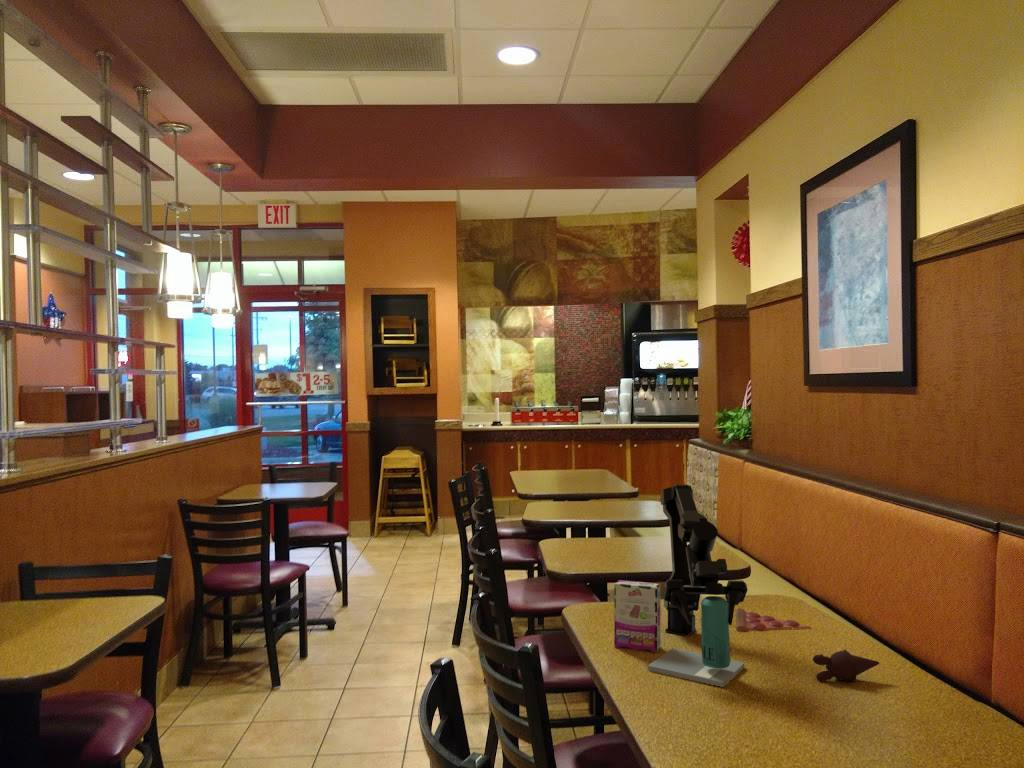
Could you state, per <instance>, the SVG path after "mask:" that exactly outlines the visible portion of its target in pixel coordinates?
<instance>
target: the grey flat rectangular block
mask: <svg viewBox="0 0 1024 768" xmlns="http://www.w3.org/2000/svg"><path fill="white" fill-rule="evenodd" d="M730 660H731V659H730ZM743 668H744V669H745V662H742V661H737V660H731V661H730V665H729V666H728V667H726V668H710V667H707V666H705V665H704V664H703V661H702V653H699V652H694V651H688V650H684V649H681V648H675V647H674V648H671V649H669V650H668V651H667V652H665V653H663V654H662V655H661V656H660V657H657V659H655V660H653V661H652V662H650V664H648V665H647V671H648V672H653V673H656V674H661V675H665V676H669V675H670V677H674V676H675V677H674V678H678V677H679V678H678V679H682V678H684V680H687V679H689V680H688V681H691V680H693V681H692V682H695V681H697V683H700V682H702V683H701V684H704V683H706V684H705V685H708V684H711V685H710V686H713V685H716V686H715V687H717V686H720V687H719V688H721V687H724V686H725V685H726V684H727V683H728V682H729V681H730V680H731V681H732V680H733V679H735V678H736V677H737V676H738V675H739V674H740V673H741V672H742V671H743V670H744V669H743ZM741 670H742V671H741ZM740 671H741V672H740ZM739 672H740V673H739ZM738 673H739V674H738ZM737 674H738V675H737ZM736 675H737V676H736ZM731 681H730V682H731ZM730 682H729V683H730ZM729 683H728V684H729ZM728 684H727V685H728ZM727 685H726V686H727ZM726 686H725V687H726ZM725 687H724V688H725Z"/></svg>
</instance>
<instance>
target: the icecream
mask: <svg viewBox="0 0 1024 768" xmlns="http://www.w3.org/2000/svg"><path fill="white" fill-rule="evenodd" d="M812 661H813V662H814V664H816V665H819V666H823V667H824V666H825V668H826V670H822V671H820V672H817V674H816V677H815V678H816V680H817V681H819V682H827V681H829V680H831V679H833V678H835V679H838V680H840V681H845V682H849V681H850V682H854V681H856V680H857V676H859V675H861V674H863V673H865V672H867V671H868V670H870V669H872V668H875V667H876V666H878V665H880V661H878V660H874V659H870V658H865V657H862V656H857V655H854V654H851V653H850V652H849V651H847V649H843V650H840V651H835V652H834V653H832V654H831V655H830V656H827V655H823V654H822V653H820V654H815V655H814V656H813V658H812Z"/></svg>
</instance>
